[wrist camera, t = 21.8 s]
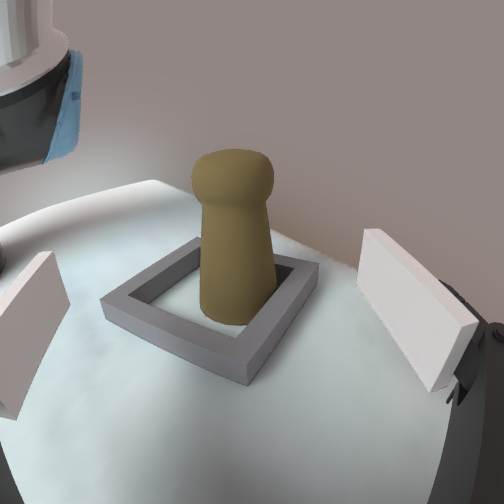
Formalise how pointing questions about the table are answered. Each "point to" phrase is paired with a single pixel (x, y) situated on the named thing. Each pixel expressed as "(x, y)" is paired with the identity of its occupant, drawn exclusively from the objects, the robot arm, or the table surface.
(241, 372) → the gray square frame
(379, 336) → the table surface
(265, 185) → the cork
